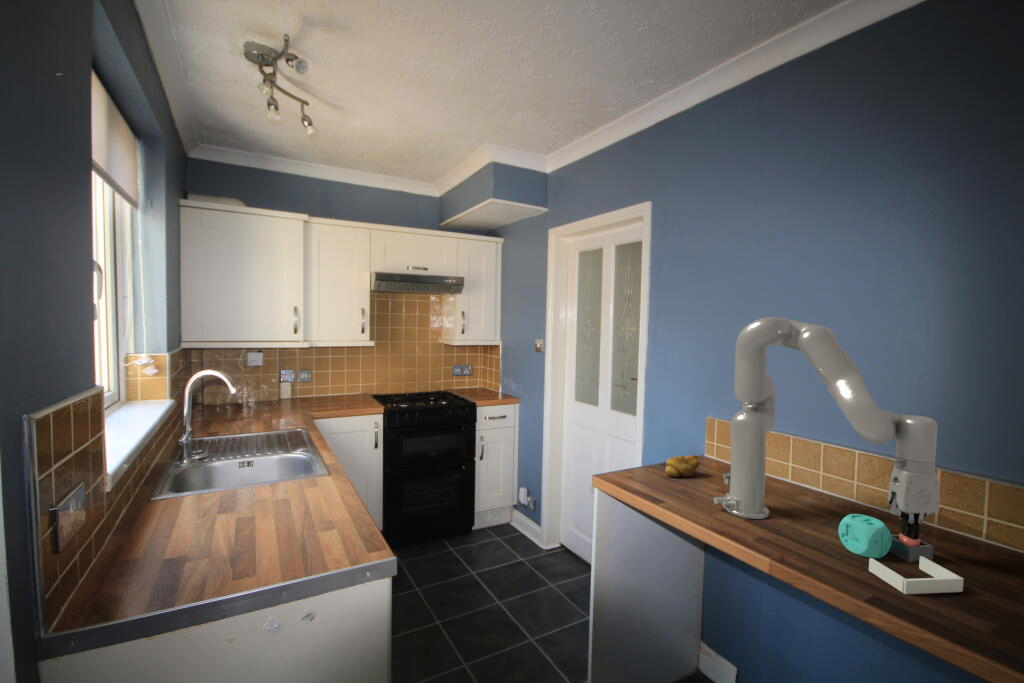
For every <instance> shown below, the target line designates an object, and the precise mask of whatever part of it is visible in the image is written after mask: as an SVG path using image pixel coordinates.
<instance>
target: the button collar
mask: <svg viewBox="0 0 1024 683" xmlns="http://www.w3.org/2000/svg"><path fill="white" fill-rule="evenodd" d="M899 534H900V533H898V534H891V537H892V543H891V547H890V549H889V551H888V552H890V553H892V554H893V555H895V556H897V557H899V558H900V559H902V560H904V561H905V562H907V563H919V561H920V556H923V557H925V558H926V559H928V560H930V561H932V562H934V561H933V560H934V559H933V558H934V546H933V545H932V544H930V543H927V542H926V541H923V540H922V539H920V545H918V546H909V545H907V544H905V543H903V542H902V541H900V540H899Z"/></svg>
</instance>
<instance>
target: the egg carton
mask: <svg viewBox="0 0 1024 683" xmlns="http://www.w3.org/2000/svg"><path fill="white" fill-rule="evenodd" d="M722 478H724V484H725V485H726V486H727V485H728V486H730V472H727V473H723V476H722Z"/></svg>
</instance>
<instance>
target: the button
mask: <svg viewBox="0 0 1024 683" xmlns="http://www.w3.org/2000/svg"><path fill="white" fill-rule="evenodd" d="M898 534H899V540H900V541H902V542H903V543H905V544H907V545H909V546H918V545H920V540H921V538H920V537H919V539H910V538H908V537H906V536H904V535H903V534H902V533H901V532H900V533H898Z"/></svg>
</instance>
